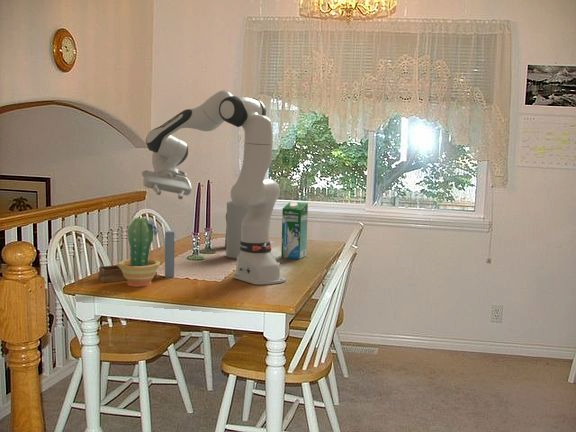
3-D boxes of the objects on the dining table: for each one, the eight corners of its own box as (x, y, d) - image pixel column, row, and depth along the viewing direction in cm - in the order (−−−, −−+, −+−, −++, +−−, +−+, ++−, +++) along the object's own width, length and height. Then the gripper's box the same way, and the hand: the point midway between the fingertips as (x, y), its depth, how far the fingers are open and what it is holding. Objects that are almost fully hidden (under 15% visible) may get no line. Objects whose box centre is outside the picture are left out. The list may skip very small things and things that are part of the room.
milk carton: (281, 257, 305) (282, 203, 302) (288, 254, 314) (289, 201, 310) (299, 259, 302) (300, 204, 298) (306, 255, 310) (308, 202, 307)
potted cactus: (148, 290, 239) (148, 221, 236) (110, 286, 243) (109, 219, 240) (167, 281, 254) (167, 216, 251) (131, 277, 258) (130, 213, 255)
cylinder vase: (246, 260, 297) (247, 204, 293) (221, 257, 301) (221, 202, 298) (257, 255, 308) (258, 202, 305) (233, 253, 313) (234, 200, 309)
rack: (156, 277, 260) (156, 265, 259) (103, 282, 249) (102, 270, 249) (150, 273, 266) (150, 262, 265) (98, 278, 255) (97, 266, 255)
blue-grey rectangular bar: (174, 275, 264) (174, 230, 261) (174, 277, 260) (174, 232, 258) (164, 275, 263) (164, 230, 261) (164, 277, 260) (164, 232, 257)
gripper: (144, 164, 273) (147, 185, 264) (190, 174, 283) (195, 194, 273) (139, 175, 277) (142, 196, 267) (185, 185, 287) (190, 206, 277)
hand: (169, 195), depth 270 cm, fingers open, 8 cm apart
